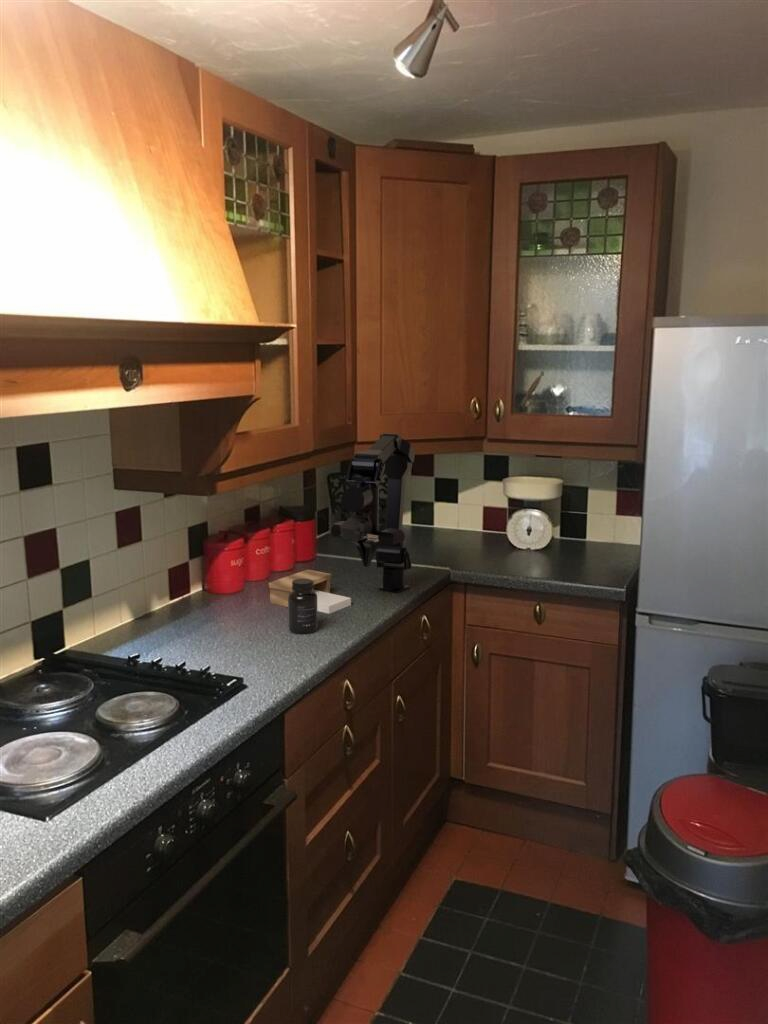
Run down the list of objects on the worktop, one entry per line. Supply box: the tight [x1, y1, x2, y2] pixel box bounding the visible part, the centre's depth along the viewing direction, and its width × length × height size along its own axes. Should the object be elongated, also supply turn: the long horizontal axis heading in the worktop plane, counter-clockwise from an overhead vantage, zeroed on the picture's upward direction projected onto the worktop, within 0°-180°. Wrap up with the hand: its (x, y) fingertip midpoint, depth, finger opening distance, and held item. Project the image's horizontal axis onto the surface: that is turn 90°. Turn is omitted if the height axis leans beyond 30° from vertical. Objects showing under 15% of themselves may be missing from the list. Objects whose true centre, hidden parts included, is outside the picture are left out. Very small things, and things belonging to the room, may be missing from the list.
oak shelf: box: [268, 569, 332, 608], centre depth 227 cm, size 16×8×6 cm, turn 147°
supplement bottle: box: [287, 578, 319, 635], centre depth 202 cm, size 7×7×12 cm
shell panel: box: [312, 589, 352, 614], centre depth 223 cm, size 9×16×2 cm, turn 55°
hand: (366, 566), depth 213 cm, fingers closed
